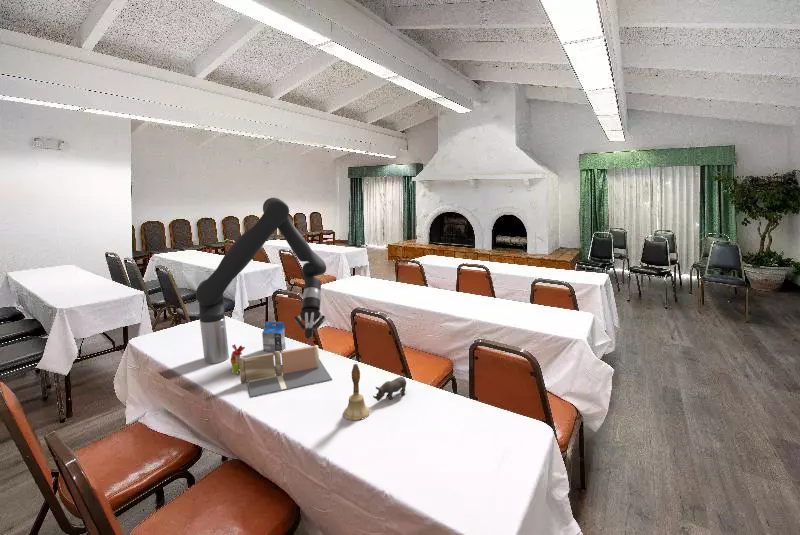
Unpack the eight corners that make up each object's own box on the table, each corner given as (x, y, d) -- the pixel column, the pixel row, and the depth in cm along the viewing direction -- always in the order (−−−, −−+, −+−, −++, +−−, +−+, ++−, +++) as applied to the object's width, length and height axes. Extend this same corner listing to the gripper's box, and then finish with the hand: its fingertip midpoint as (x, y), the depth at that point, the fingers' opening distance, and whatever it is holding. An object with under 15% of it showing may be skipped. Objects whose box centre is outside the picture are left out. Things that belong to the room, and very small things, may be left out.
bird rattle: (226, 377, 155) (235, 374, 148) (219, 348, 156) (227, 345, 150) (242, 371, 159) (251, 369, 153) (235, 344, 160) (244, 341, 154)
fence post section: (240, 381, 145) (238, 357, 144) (281, 373, 151) (279, 350, 149) (241, 383, 144) (238, 359, 142) (282, 375, 149) (280, 352, 148)
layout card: (246, 372, 154) (245, 371, 153) (318, 358, 165) (318, 357, 165) (250, 397, 135) (250, 396, 135) (332, 380, 146) (332, 378, 146)
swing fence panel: (282, 372, 151) (281, 351, 150) (318, 365, 157) (317, 344, 155) (283, 374, 150) (281, 353, 148) (319, 367, 155) (318, 346, 154)
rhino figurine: (369, 401, 131) (368, 384, 130) (402, 388, 139) (402, 372, 138) (376, 407, 128) (375, 389, 126) (410, 393, 136) (409, 377, 135)
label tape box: (263, 351, 174) (260, 324, 171) (267, 347, 178) (265, 321, 175) (282, 352, 172) (280, 325, 170) (286, 348, 176) (284, 321, 174)
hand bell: (355, 403, 130) (353, 357, 127) (375, 411, 125) (374, 363, 122) (337, 415, 123) (335, 366, 120) (358, 423, 119) (356, 373, 116)
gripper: (294, 296, 168) (289, 334, 158) (326, 295, 168) (323, 333, 159) (297, 305, 174) (293, 342, 164) (328, 304, 175) (326, 341, 165)
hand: (308, 338), depth 161 cm, fingers closed
